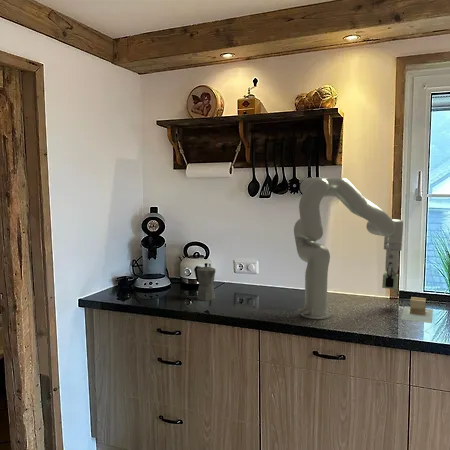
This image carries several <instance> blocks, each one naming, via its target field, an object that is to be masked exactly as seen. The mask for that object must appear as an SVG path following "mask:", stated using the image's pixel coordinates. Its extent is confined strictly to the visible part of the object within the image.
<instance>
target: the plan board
mask: <svg viewBox="0 0 450 450" xmlns="http://www.w3.org/2000/svg"><path fill="white" fill-rule="evenodd" d="M433 312H434V311H433V309H430V308H425V315H420V314H412V313H410V306H403V310H402V312H401V317H400V320H405V321H410V322H411V321H413V322H421V323H429V324H433V315H434V313H433Z"/></svg>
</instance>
